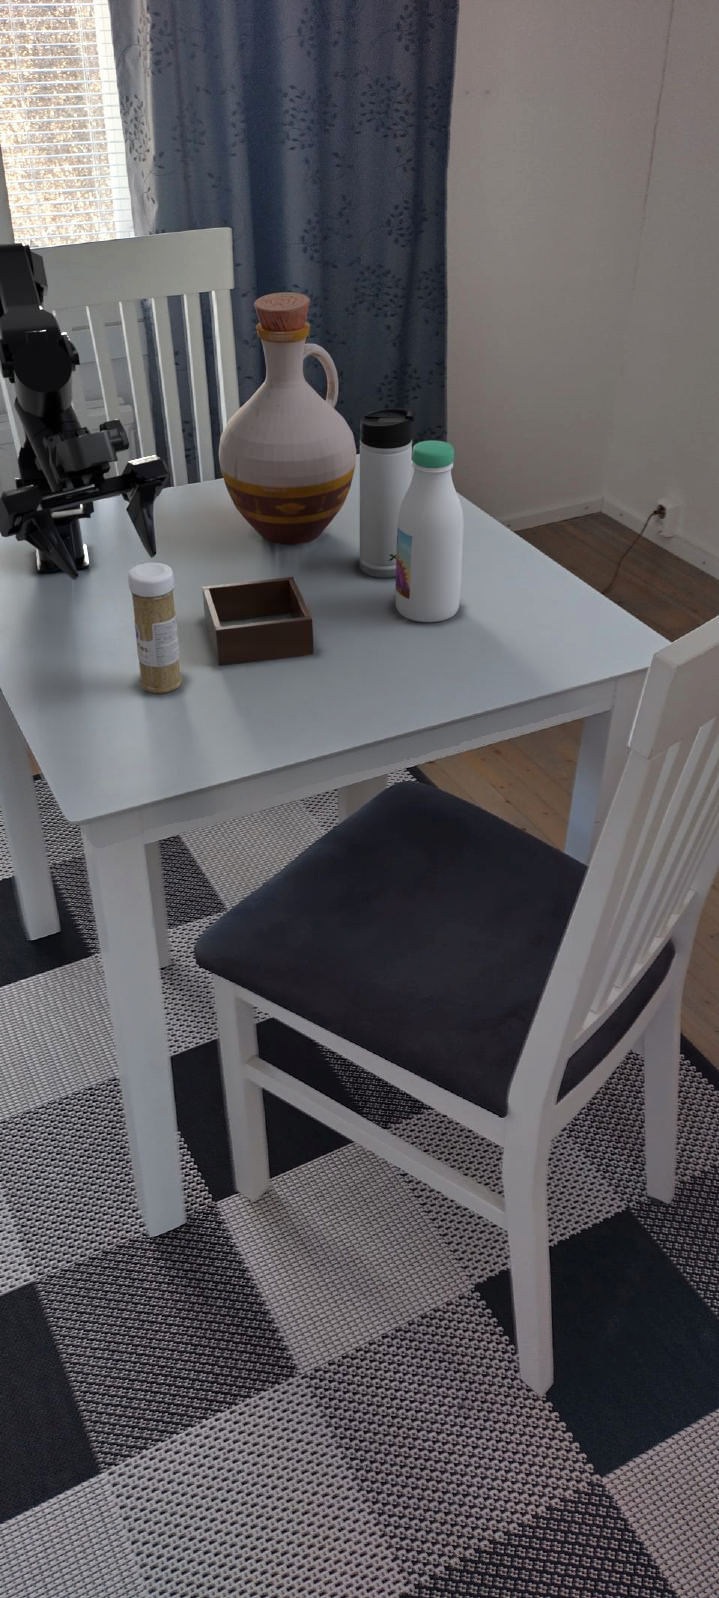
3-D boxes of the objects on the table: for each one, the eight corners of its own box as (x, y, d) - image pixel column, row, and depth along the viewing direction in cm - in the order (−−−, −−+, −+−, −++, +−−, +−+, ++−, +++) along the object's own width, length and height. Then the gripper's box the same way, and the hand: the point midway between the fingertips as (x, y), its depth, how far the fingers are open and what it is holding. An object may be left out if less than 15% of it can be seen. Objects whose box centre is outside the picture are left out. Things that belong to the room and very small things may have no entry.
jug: (288, 492, 170) (279, 271, 152) (389, 522, 162) (393, 291, 144) (197, 538, 158) (176, 303, 140) (301, 573, 149) (294, 327, 131)
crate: (205, 620, 139) (202, 586, 137) (294, 610, 141) (293, 576, 139) (218, 666, 131) (215, 630, 128) (313, 654, 133) (312, 618, 130)
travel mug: (406, 580, 148) (411, 422, 136) (355, 576, 149) (355, 418, 137) (414, 559, 153) (419, 405, 141) (364, 554, 154) (365, 401, 142)
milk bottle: (466, 599, 144) (476, 438, 132) (449, 628, 138) (458, 462, 126) (406, 590, 146) (410, 430, 134) (386, 618, 140) (389, 454, 128)
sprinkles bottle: (133, 680, 128) (120, 566, 120) (172, 669, 130) (161, 557, 122) (151, 699, 125) (138, 583, 117) (190, 688, 127) (180, 573, 119)
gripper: (-17, 415, 115) (48, 558, 115) (153, 379, 124) (214, 513, 124) (-31, 468, 125) (29, 601, 125) (127, 432, 134) (184, 556, 133)
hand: (115, 566), depth 126 cm, fingers open, 9 cm apart
